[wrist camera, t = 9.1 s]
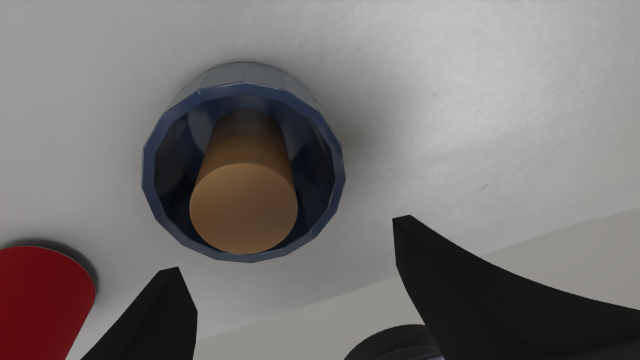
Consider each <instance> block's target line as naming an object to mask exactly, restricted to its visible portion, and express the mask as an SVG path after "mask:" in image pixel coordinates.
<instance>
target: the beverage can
mask: <svg viewBox="0 0 640 360" xmlns="http://www.w3.org/2000/svg"><path fill="white" fill-rule="evenodd" d="M94 301H95V286H94V283H93V280H92V278H91V277H90V275H89V274H88V272H87V271H86V270H85V269H84V268H83V267H82V266H81V265H80V264H79V263H78V262H76V261H75V260H73V259H72V258H70V257H68V256H67V255H65V254H62V253H60V252H57V251H54V250H51V249H48V248H43V247H37V246H14V247H9V248H5V249H2V250H0V360H65V359H66V357H67V355H68V353H69V351H70V349H71V347H72V345H73V343H74V341H75V339H76V337H77V335H78V333H79V331H80V329H81V327H82V325H83V324H84V322H85V320H86V318H87V316H88V314H89V312H90V310H91V308H92V306H93V304H94Z"/></svg>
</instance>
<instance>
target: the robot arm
mask: <svg viewBox="0 0 640 360" xmlns="http://www.w3.org/2000/svg"><path fill="white" fill-rule="evenodd" d="M392 221H393V233H394V245H395V257H396V266H397V269H398V271H399V274H400V276H401V279H402V281H403V284H404V286H405V288H406V291H407V293H408V295H409V296H410V298H411V300H412V302H413V304H414V305H415V307H416V309H417V311H418V312H419V314H420V316H421V318H422V319H423V321H424V323H425V325H426V327H427V328H428V330H429V332H430V334H431V336H432V337H433V339H434V341H435V343H436V344H437V346H438V348H439V350H440V352H441V354H442V355H441V356H437V357H433V358H429V359H425V360H640V310H636V309H632V308H627V307H623V306H619V305H614V304H610V303H605V302H601V301H597V300H593V299H589V298H585V297H581V296H578V295H575V294H571V293H568V292H564V291H561V290H558V289H555V288H552V287H548V286H546V285H543V284H540V283H537V282H535V281H532V280H529V279H526V278H524V277H521V276H519V275H516V274H514V273H511V272H509V271H507V270H504V269H502V268H500V267H498V266H495V265H493V264H491V263H489V262H487V261H485V260H483V259H481V258H479V257H477V256H476V255H474V254H472V253H470V252H468V251H466V250H464V249H463V248H461V247H459V246H457V245H456V244H454V243H452V242H451V241H449V240H448V239H446V238H444V237H443V236H441V235H440V234H438V233H437V232H435V231H433V230H432V229H430V228H429V227H427V226H426V225H424V224H423V223H421V222H420V221H418V220H417V219H416V218H414V217H412V216H411V215H406V216H402V217H397V218H393V219H392ZM197 314H198V312H197V309H196V307H195V305H194V302H193V300H192V298H191V295H190V293H189V291H188V288H187V286H186V284H185V281H184V279H183V277H182V274H181V272H180V270H179V267H173V268H169V269H165V270H160V271H159V272H158V273H157V274H156V275H155V276H154V277H153V278H152V279H151V281H150V282H149V283H148V284H147V285H146V287H145V288H144V289H143V290H142V292H141V293H140V294H139V295H138V296H137V298H136V299H135V300H134V301H133V302H132V304H131V305H130V306H129V307H128V308H127V309H126V311H125V312H124V313H123V314H122V315H121V317H120V318H119V319H118V320H117V321H116V322H115V323H114V324H113V326H112V327H111V328H110V329H109V330H108V331H107V332H106V333H105V334H104V335H103V337H102V338H101V339H100V340H99V341H98V342H97V343H96V344H95V345H94V346H93V347H92V348H91V349H90V350H89V352H88V353H87V354H86V355H85V356H84V357H83V358H82V359H81V360H192V359H193V354H194V349H195V343H196V333H197Z"/></svg>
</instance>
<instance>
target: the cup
mask: <svg viewBox="0 0 640 360" xmlns="http://www.w3.org/2000/svg"><path fill="white" fill-rule="evenodd" d="M241 109H253V110H257V111H261V112H263V113H265V114H267V115H269V116H270V117H272V118H273V119H274V120H275V121H276V122H277V123H278V124H279V126H280V127H281V129H282V131H283V134H284V137H285V141H286V147H287V152H288V157H289V162H290V167H291V172H292V177H293V182H294V187H295V192H296V197H297V203H298V213H297V218H296V221H295V224H294V226H293V228H292V230H291V231H290V233H289V234H288V235H287V236H286V237H285V238H284V239H283V240H282V241H281V242H280V243H278V244H277V245H275V246H274V247H272V248H270V249H268V250H265V251H262V252H259V253H254V254H233V253H228V252H225V251H222V250H219V249H217V248H215V247H213V246H212V245H210V244H209V243H207V242H206V241H205V240H204V239H203V238H202V237H201V236H200V235H199V234H198V232H197V231H196V229H195V228H194V225H193V223H192V220H191V217H190V200H191V196H192V193H193V189H194V186H195V183H196V180H197V177H198V174H199V171H200V167H201V164H202V161H203V158H204V155H205V152H206V148H207V145H208V142H209V139H210V136H211V133H212V130H213V128H214V126H215V125H216V123H217V122H218V121H219V120H220V119H221V118H222V117H224V116H225V115H227V114H228V113H230V112H233V111H236V110H241ZM345 181H346V175H345V168H344V161H343V154H342V147H341V144H340V142H339V140H338V138H337V136H336V135H335V133H334V131H333V129H332V127H331V126H330V124H329V122H328V120H327V118H326V117H325V115H324V113H323V112H322V110H321V109H320V107H319V105H318V104H317V102H316V100H315V99H314V98H313V96H312V94H311V93H310V91H309V90H308V89H307V88H306V87H305V86H303V85H302V84H301V83H300V82H299V81H297V80H296V79H295V78H294V77H292V76H290V75H289V74H287V73H285V72H284V71H282V70H280V69H277V68H275V67H272V66H268V65H265V64H260V63H253V62H237V63H228V64H225V65H221V66H217V67H215V68H211V69H209V70H208V71H206V72H204V73H202V74H201V75H199V76H197V77H196V78H195V79H194V80H192V81H191V82H190V83H189V84H187V85H186V86H184V87H183V88H182V89H181V91H180V92H179V93H178V94H177V96H176V97H175V98H174V100H173V101H172V102H171V104H170V105H169V106H168V107H167V109H166V110H165V111H164V113H163V114H162V116H161V117H160V119H159V121H158V123H157V124H156V126H155V128H154V130H153V131H152V133H151V135H150V137H149V138H148V140H147V142H146V144H145V145H144V147H143V157H142V179H141V185H142V189H143V191H144V194H145V196H146V198H147V201H148V203H149V205H150V208H151V210H152V212H153V215H154V217H155V219H156V220H157V221H158V222H159V223H160V224H161V225H162V226H163V227H164V228H165V229H166V230H167V231H168V232H169V233H170V234H171V235H172V236H173V237H174V238H175V239H176V240H177V241H179V242H180V243H181V244H182V245H183V246H185V247H188V248H190V249H192V250H195V251H197V252H199V253H201V254H204V255H206V256H208V257H211V258H213V259H216V260H223V261H234V262H245V263H255V262H259V261H264V260H268V259H272V258H277V257H281V256H285V255H288V254H289V253H291V252H293V251H294V250H296V249H298V248H299V247H301V246H303V245H304V244H306V243H308V242H309V241H311V240H313V239H314V238H315V237H317V235H318V234H319V233H320V232H321V230H322V229H323V228H324V227H325V225H326V224H327V223H328V222H329V221H330V219H331V218H332V217H333V216H334V214H335V213H336V211H337V209H338V205H339V202H340V198H341V195H342V191H343V188H344V184H345Z"/></svg>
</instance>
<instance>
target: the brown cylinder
mask: <svg viewBox="0 0 640 360" xmlns="http://www.w3.org/2000/svg"><path fill="white" fill-rule="evenodd" d="M297 213H298V203H297V197H296V192H295V187H294V182H293V177H292V172H291V167H290V162H289V157H288V152H287V147H286V141H285V137H284V134H283V131H282V129H281V127H280V126H279V124H278V123H277V122H276V121H275V120H274V119H273V118H272V117H270V116H269V115H267V114H265V113H263V112H261V111H257V110H253V109H241V110H236V111H233V112H230V113H228V114H227V115H225V116H224V117H222V118H221V119H220V120H219V121H218V122H217V123H216V125H215V126H214V128H213V130H212V133H211V136H210V139H209V142H208V145H207V148H206V152H205V155H204V158H203V161H202V164H201V167H200V171H199V174H198V177H197V180H196V183H195V186H194V189H193V193H192V196H191V200H190V217H191V220H192V223H193V225H194V228H195V229H196V231H197V232H198V234H199V235H200V236H201V237H202V238H203V239H204V240H205V241H206V242H207V243H209V244H210V245H212V246H213V247H215V248H217V249H219V250H222V251H225V252H228V253H233V254H254V253H259V252H262V251H265V250H268V249H270V248H272V247H274V246H275V245H277V244H278V243H280V242H281V241H282V240H283V239H284V238H285V237H286V236H287V235H288V234H289V233H290V231H291V230H292V228H293V226H294V224H295V221H296V218H297Z"/></svg>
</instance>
